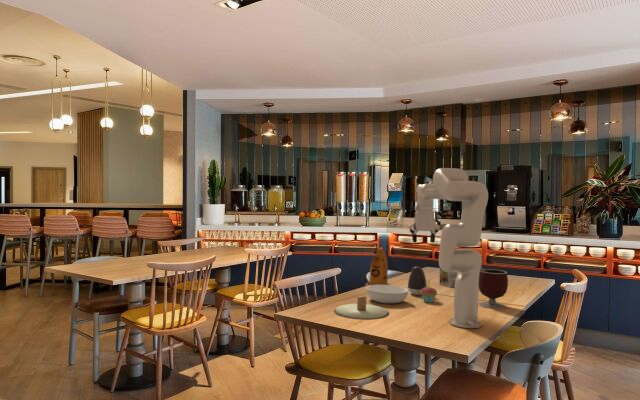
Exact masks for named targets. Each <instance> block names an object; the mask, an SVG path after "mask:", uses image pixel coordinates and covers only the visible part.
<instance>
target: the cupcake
mask: <svg viewBox="0 0 640 400" xmlns="http://www.w3.org/2000/svg"><path fill="white" fill-rule="evenodd" d="M427 282H428V283H427V287H425V288H423V289H421V290H420V294H422V295H421V296H422V299H423V302H425V303H434V300H435V298H436V296H438V291H437V290H436V289H435V288H433V287H430V279H428V280H427Z"/></svg>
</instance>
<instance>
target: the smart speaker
mask: <svg viewBox="0 0 640 400" xmlns="http://www.w3.org/2000/svg"><path fill="white" fill-rule="evenodd" d="M411 269H412V270H411V272H410V274H409V278H408V280H407V281H408V283H407V289H408V292H409V293H410V294H412V295H414V296H422V294H420V290H421V289H423V288H425V287H428V283H427V278H426V275H425V272H424V269H423V268H422V267H420V266H411Z"/></svg>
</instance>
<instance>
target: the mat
mask: <svg viewBox="0 0 640 400" xmlns="http://www.w3.org/2000/svg"><path fill="white" fill-rule="evenodd" d="M333 313H334V314H335V315H336V316H339V317H341V318H346V319H353V320H358V319H357V318H349V317H345V316H342V315H339V314H337V313H336V308H335V309H334V310H333ZM389 316H390V312H389V311H388V310H387V315H386V316H384V317H381V318H375V319H374V320H379V319H385V318H388V317H389ZM360 320H362V321H363V320H369V321H370V320H373V319H360Z"/></svg>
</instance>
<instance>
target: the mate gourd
mask: <svg viewBox="0 0 640 400" xmlns="http://www.w3.org/2000/svg"><path fill="white" fill-rule="evenodd" d="M508 286H509V279H508V272H507V271H505V270H500V269H488V268H487V269H485V268H484V267H482V266H481V268H480V273H479V287H478V291H479V292H480V293H481V295H483V296H485V297H486V298H488V299H489V300H488V301H480V302H478V306H480V307H483V308H486V309H494V310H496V309H497V310H500V309H502V308H503V309H506V304H504V303H501V302H497V300H496V299H498V298H502V297H504V296H505V294H506V293H507V290H508ZM503 309H502V310H503Z"/></svg>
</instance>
